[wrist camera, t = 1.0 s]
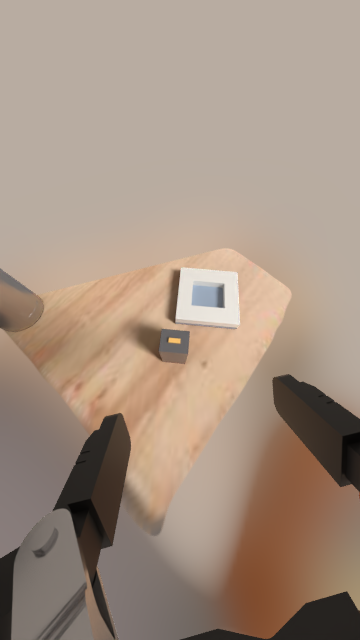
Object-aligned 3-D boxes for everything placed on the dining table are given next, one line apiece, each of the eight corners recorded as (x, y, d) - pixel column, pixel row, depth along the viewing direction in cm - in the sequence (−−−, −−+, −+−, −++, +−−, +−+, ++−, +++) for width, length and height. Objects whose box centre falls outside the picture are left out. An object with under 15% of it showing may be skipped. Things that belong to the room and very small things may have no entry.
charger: (162, 361, 35) (158, 350, 26) (164, 344, 36) (161, 327, 28) (185, 363, 35) (188, 353, 26) (186, 345, 36) (189, 330, 28)
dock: (175, 323, 38) (175, 318, 36) (180, 274, 43) (181, 267, 41) (236, 329, 38) (239, 324, 36) (234, 278, 43) (237, 272, 41)
